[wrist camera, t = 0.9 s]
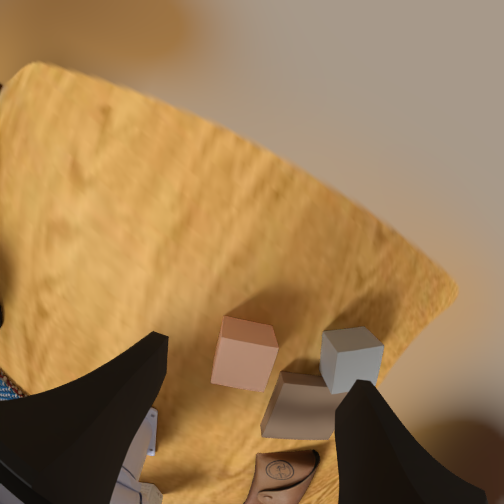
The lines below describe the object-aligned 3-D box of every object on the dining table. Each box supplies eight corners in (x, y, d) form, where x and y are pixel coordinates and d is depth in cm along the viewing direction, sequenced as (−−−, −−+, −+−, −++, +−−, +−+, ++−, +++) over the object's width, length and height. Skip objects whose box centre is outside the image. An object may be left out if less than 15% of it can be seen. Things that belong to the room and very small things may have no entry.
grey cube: (358, 363, 26) (375, 386, 22) (318, 369, 26) (331, 394, 21) (364, 326, 25) (384, 345, 21) (322, 330, 25) (337, 352, 21)
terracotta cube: (259, 365, 25) (263, 392, 21) (214, 356, 25) (210, 382, 20) (272, 325, 25) (279, 348, 20) (223, 315, 24) (221, 337, 20)
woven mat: (39, 434, 27) (34, 441, 25) (-4, 396, 25) (-9, 401, 23) (42, 405, 26) (36, 412, 24) (-5, 361, 24) (-12, 366, 22)
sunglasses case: (252, 451, 27) (286, 485, 22) (295, 432, 31) (329, 459, 26) (241, 507, 30) (264, 532, 24) (274, 492, 34) (298, 514, 28)
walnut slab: (323, 426, 28) (328, 439, 25) (260, 422, 27) (261, 437, 24) (348, 376, 27) (356, 388, 24) (279, 369, 26) (283, 383, 23)
